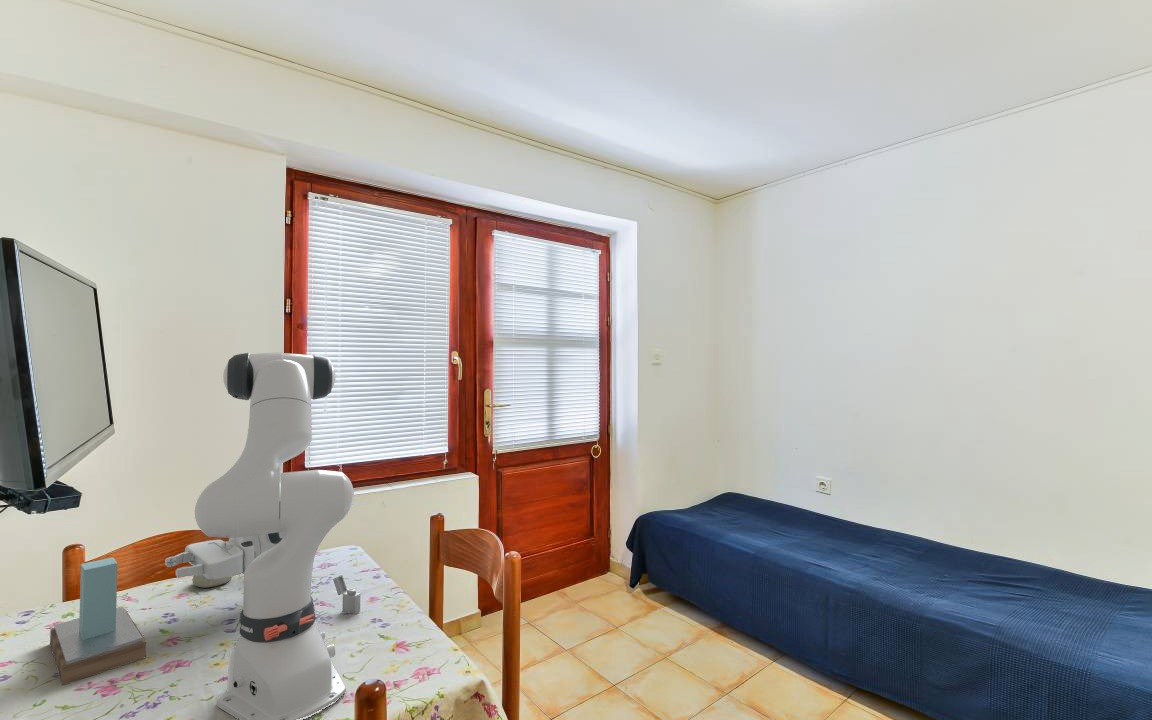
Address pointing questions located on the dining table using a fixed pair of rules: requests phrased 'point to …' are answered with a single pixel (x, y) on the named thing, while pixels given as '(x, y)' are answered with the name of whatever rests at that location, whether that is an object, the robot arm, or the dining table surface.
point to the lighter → (347, 596)
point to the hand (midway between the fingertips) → (170, 568)
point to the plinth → (95, 648)
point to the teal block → (98, 598)
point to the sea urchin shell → (208, 581)
